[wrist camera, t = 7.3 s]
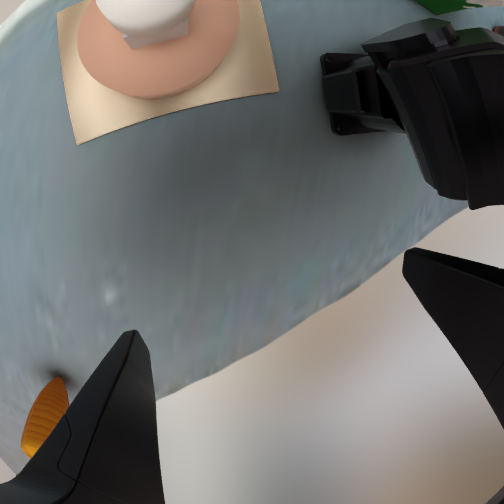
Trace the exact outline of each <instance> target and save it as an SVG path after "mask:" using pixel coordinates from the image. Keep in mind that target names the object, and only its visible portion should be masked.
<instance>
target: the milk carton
mask: <svg viewBox="0 0 504 504" xmlns="http://www.w3.org/2000/svg"><path fill="white" fill-rule="evenodd" d="M415 1H417V2H418V3H420V4H421V5H423V6H424V7H426V8H427V9H429V10H430V11H431V12H433V13H434V14H436V15H440V14H444V13H449V12H453V11H458V10H463V9H468V8H478V7H492V6H504V0H415Z"/></svg>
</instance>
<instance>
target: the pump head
mask: <svg viewBox="0 0 504 504" xmlns="http://www.w3.org/2000/svg"><path fill="white" fill-rule="evenodd" d="M96 4H97V6H98V8H99V9H100V11H101V12H102V13H103V15H104V16H105V17H106V18H107V20H108V21H109V22H110V24H111V25H112V26H113V27H114V28H115V29H116V30H117V31H119V32H120V33H122V34H125V35H128V36H132V37H150V36H155V35H158V34H161V33H164V32H166V31H169V30H171V29H172V28H174V27H176V26H177V25H179V24H180V23H181V22H182V21H183V20H184V19H185V18H186V17H187V16H188V15H189V14H190V12H191V10H192V9H193V6H194V4H195V0H96Z"/></svg>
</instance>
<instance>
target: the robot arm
mask: <svg viewBox="0 0 504 504" xmlns="http://www.w3.org/2000/svg"><path fill="white" fill-rule="evenodd" d="M361 46H362V47H363V49H364V51H365V52H367V53H368V54H369V55H361V54H344V53H326V54H323V55H322V56H321V64H322V69H323V75H324V77H323V85H324V91H325V97H326V104H327V109H328V110H329V112H330V119H331V126H332V131H333V133H334V134H336V135H349V134H359V133H369V132H381V131H392V132H398V133H404V134H407V136H408V139H409V141H410V144H411V146H412V149H413V151H414V154H415V157H416V159H417V162H418V165H419V168H420V171H421V173H422V175H423V177H424V179H425V181H426V182H427V183H428V184H430V185H431V186H432V187H433V188H435V189H437V192H438V194H439V195H440V196H443V197H446V198H449V199H453V200H460V201H468V204H469V208H470V209H471V210H475V209H479V208H482V207H486V206H492V205H504V37H503V36H501V35H499V34H497V33H495V32H493V31H490V30H488V29H485V28H471V29H464V30H457V31H455V30H454V28H453V26H452V24H451V22H448V21H444V20H440V19H435V18H429V19H424V20H420V21H416V22H412V23H409V24H405V25H403V26H400V27H398V28H395V29H393V30H391V31H389V32H386V33H384V34H382V35H380V36H377V37H375V38H373V39H371V40H369V41H367V42H365V43H363V44H361ZM326 57H328V58H329V60H330V62H328V61H327V60H326ZM338 126H340V131H339V132H338V130H337V128H338ZM402 273H403V276H404V278H405V279H406V281H407V282H408V284H409V285H410V287H411V288H412V290H413V291H414V293H415V294H416V296H417V297H418V299H419V301H420V302H421V304H422V305H423V307H424V308H425V310H426V311H427V312H428V314H429V315H430V316H431V317H432V319H433V320H434V322H435V323H436V324H437V325H438V327H439V328H440V330H441V331H442V332H443V334H444V335H445V336H446V338H447V339H448V340H449V342H450V343H451V345H452V346H453V348H454V349H455V350H456V352H457V353H458V355H459V356H460V358H461V359H462V361H463V362H464V364H465V365H466V367H467V368H468V370H469V371H470V373H471V374H472V376H473V377H474V379H475V380H476V382H477V384H478V385H479V387H480V388H481V390H482V391H483V394H484V395H485V397H486V399H487V400H488V402H489V404H490V405H491V407H492V409H493V411H494V412H495V414H496V416H497V418H498V420H499V422H500V423H501V425H502V427H503V429H504V269H499V268H498V267H494V266H490V265H486V264H482V263H479V262H475V261H471V260H467V259H463V258H459V257H454V256H451V255H446V254H442V253H438V252H434V251H430V250H425V249H421V248H416V247H415V248H411V249H408V250H406V251H405V253H404V261H403V268H402ZM0 504H165V500H164V493H163V486H162V477H161V469H160V459H159V448H158V436H157V420H156V400H155V391H154V384H153V377H152V369H151V361H150V353H149V350H148V348H147V346H146V344H145V343H144V341H143V339H142V337H141V335H140V334H139V332H138V331H137V330H130V331H126V332H124V333H123V334H122V335H121V336H120V338H119V339H118V340H117V341H116V343H115V344H114V345H113V347H112V348H111V349H110V351H109V352H108V353H107V355H106V356H105V357H104V359H103V360H102V361H101V363H100V364H99V365H98V367H97V368H96V369H95V371H94V372H93V374H92V375H91V376H90V378H89V379H88V380H87V382H86V383H85V385H84V386H83V387H82V389H81V390H80V392H79V393H78V394H77V396H76V397H75V399H74V400H73V401H72V403H71V404H70V406H69V407H68V409H67V410H66V414H65V413H64V414H63V416H62V417H61V419H60V420H59V422H58V423H57V425H56V426H55V427H54V429H53V430H52V432H51V433H50V435H49V436H48V437H47V438H46V440H45V441H44V442H43V444H42V445H41V446H40V448H39V449H38V450H37V451H36V453H35V454H34V455H33V457H32V458H31V459H30V460H29V462H28V463H27V464H26V466H25V467H24V468H23V470H22V471H21V472H20V473H19V474H18V475H17V476H16V477H15V478H13V479H12V480H10V481H8V482H5V483H2V484H0ZM486 504H504V486H503V487H502V488H501V489H500V490H499V491H498V492H497V493H496V494H495V495H494V496H493V497H492V498H491V499H490V500H489V501H488V502H487V503H486Z"/></svg>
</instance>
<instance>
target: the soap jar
mask: <svg viewBox="0 0 504 504" xmlns="http://www.w3.org/2000/svg"><path fill="white" fill-rule="evenodd" d="M239 23H240V12H239V5H238V2H237V0H195V4H194V6H193V9H192V10H191V12H190V14H189V15H188V16H187V17H186V18H185V19H184V20H183V21H182V22H181V23H180V24H179V25H177V26H176V27H174V28H172V29H171V30H169V31H166V32H164V33H161V34H158V35H155V36H150V37H132V36H128V35H125V34H122V33H120V32H119V31H117V30H116V29H115V28H114V27H113V26H112V25H111V24H110V22H109V21H108V20H107V18H106V17H105V16H104V15H103V13H102V12H101V11H100V9H99V8H98V6H97V4H96V0H92V1H91V3H90V4H89V5H88V7H87V9H86V10H85V12H84V14H83V17H82V19H81V21H80V25H79V28H78V35H77V48H78V53H79V57H80V60H81V62H82V64H83V66H84V67H85V69H86V71H87V72H88V73H89V74H90V75H91V76H92V77H93V78H94V79H95V80H96V81H98V82H99V83H100V84H102V85H104V86H106V87H107V88H110V89H112V90H114V91H117V92H119V93H121V94H124V95H126V96H129V97H133V98H136V99H144V100H157V99H165V98H170V97H174V96H177V95H180V94H182V93H185V92H187V91H189V90H191V89H193V88H194V87H196V86H198V85H199V84H201V83H202V82H203V81H205V80H206V79H207V78H208V77H209V76H210V75H211V74H212V73H213V72H214V71H215V70H216V69H217V67H218V66H219V64H220V63H221V62H222V60H223V58H224V57H225V55H226V54H227V52H228V51H229V49H230V48H231V46H232V44H233V42H234V40H235V38H236V35H237V32H238V28H239Z"/></svg>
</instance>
